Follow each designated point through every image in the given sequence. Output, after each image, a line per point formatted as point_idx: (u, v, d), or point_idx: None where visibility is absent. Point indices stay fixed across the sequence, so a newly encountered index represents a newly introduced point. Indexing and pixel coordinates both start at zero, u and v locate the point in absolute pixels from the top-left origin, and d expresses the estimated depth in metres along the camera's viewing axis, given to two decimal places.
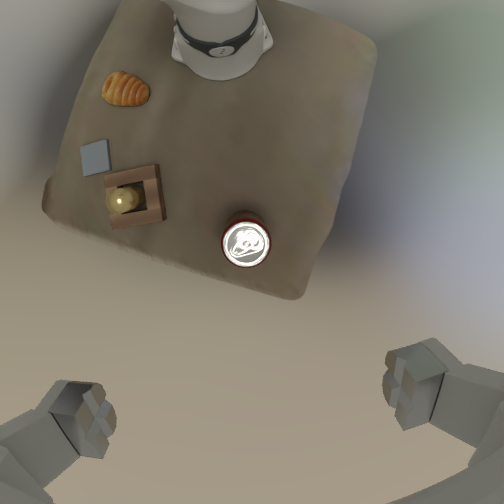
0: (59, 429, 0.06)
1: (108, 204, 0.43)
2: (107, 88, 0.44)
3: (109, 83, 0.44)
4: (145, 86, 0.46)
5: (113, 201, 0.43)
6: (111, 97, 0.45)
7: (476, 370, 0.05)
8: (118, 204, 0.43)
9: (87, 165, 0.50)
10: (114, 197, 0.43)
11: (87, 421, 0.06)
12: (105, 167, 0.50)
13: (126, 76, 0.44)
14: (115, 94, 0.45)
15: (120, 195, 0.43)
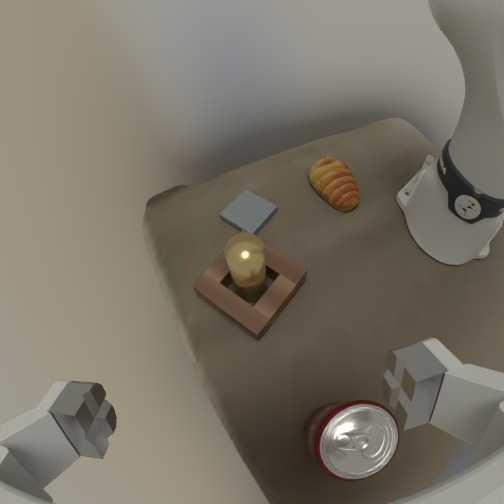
0: (59, 429, 0.06)
1: (231, 243, 0.31)
2: (322, 164, 0.45)
3: (328, 163, 0.45)
4: (358, 196, 0.43)
5: (239, 246, 0.31)
6: (319, 175, 0.44)
7: (476, 370, 0.05)
8: (242, 254, 0.30)
9: (234, 209, 0.44)
10: (246, 243, 0.31)
11: (87, 421, 0.06)
12: (250, 228, 0.42)
13: (348, 171, 0.44)
14: (326, 175, 0.44)
15: (255, 248, 0.30)
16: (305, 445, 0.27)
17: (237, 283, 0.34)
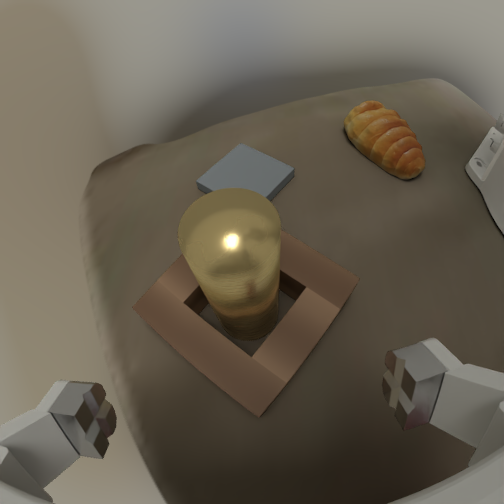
0: (59, 429, 0.06)
1: (197, 211, 0.12)
2: (366, 109, 0.26)
3: (374, 108, 0.26)
4: (423, 156, 0.25)
5: (216, 218, 0.12)
6: (364, 123, 0.26)
7: (476, 370, 0.05)
8: (224, 238, 0.11)
9: (221, 173, 0.25)
10: (234, 211, 0.12)
11: (87, 421, 0.06)
12: None
13: (404, 120, 0.26)
14: (375, 123, 0.25)
15: (258, 225, 0.12)
16: None
17: (216, 308, 0.15)
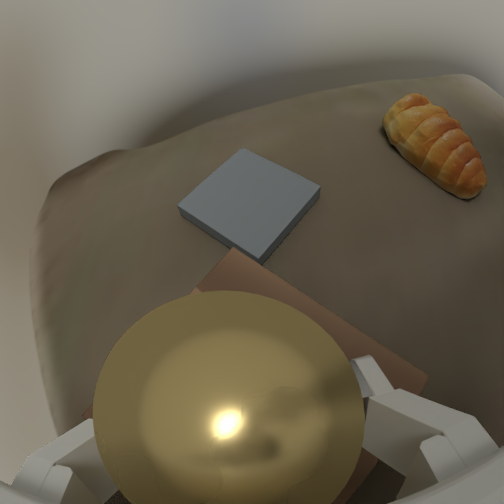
0: None
1: (134, 364, 0.04)
2: (412, 105, 0.18)
3: (421, 103, 0.19)
4: None
5: (186, 392, 0.04)
6: (413, 122, 0.18)
7: (407, 398, 0.05)
8: (209, 459, 0.03)
9: (214, 192, 0.17)
10: (235, 375, 0.04)
11: None
12: (254, 242, 0.16)
13: (457, 121, 0.18)
14: (427, 123, 0.17)
15: (304, 421, 0.04)
16: None
17: None
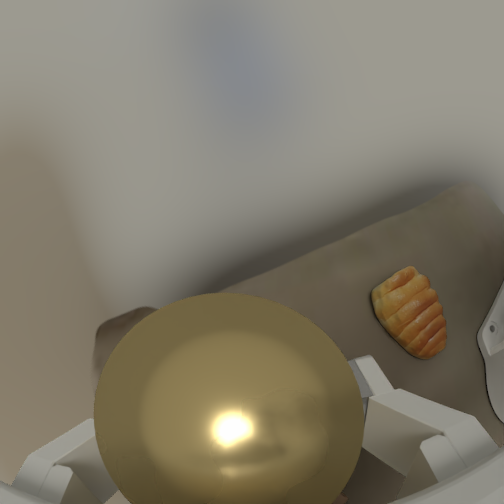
0: None
1: (135, 366, 0.04)
2: (398, 285, 0.26)
3: (406, 281, 0.26)
4: None
5: (187, 394, 0.04)
6: (394, 307, 0.25)
7: (407, 398, 0.05)
8: (209, 460, 0.03)
9: None
10: (235, 377, 0.04)
11: None
12: None
13: (434, 292, 0.25)
14: (406, 308, 0.24)
15: (304, 423, 0.04)
16: None
17: None
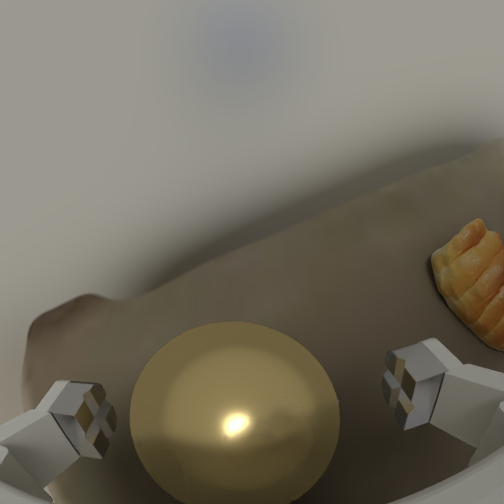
0: (59, 429, 0.06)
1: (163, 378, 0.05)
2: (471, 244, 0.15)
3: (479, 238, 0.15)
4: None
5: (205, 399, 0.05)
6: (471, 277, 0.14)
7: (476, 370, 0.05)
8: (223, 450, 0.05)
9: None
10: (242, 387, 0.05)
11: (87, 421, 0.06)
12: None
13: None
14: (486, 277, 0.14)
15: (294, 421, 0.05)
16: None
17: None
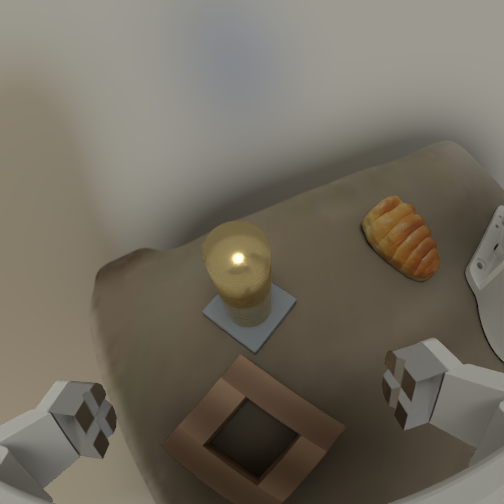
0: (59, 429, 0.06)
1: (214, 237, 0.18)
2: (385, 211, 0.28)
3: (392, 207, 0.28)
4: (437, 255, 0.27)
5: (227, 242, 0.18)
6: (385, 230, 0.28)
7: (476, 370, 0.05)
8: (233, 257, 0.17)
9: None
10: (239, 238, 0.18)
11: (87, 421, 0.06)
12: (252, 342, 0.25)
13: (420, 217, 0.28)
14: (395, 229, 0.27)
15: (255, 247, 0.18)
16: None
17: (226, 302, 0.21)
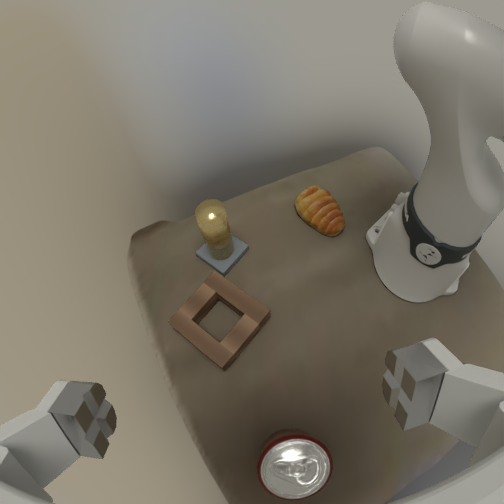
0: (59, 429, 0.06)
1: (201, 206, 0.39)
2: (307, 194, 0.50)
3: (312, 192, 0.50)
4: (343, 220, 0.48)
5: (206, 208, 0.39)
6: (306, 205, 0.49)
7: (476, 370, 0.05)
8: (208, 214, 0.39)
9: None
10: (212, 206, 0.39)
11: (87, 421, 0.06)
12: (222, 267, 0.46)
13: (331, 197, 0.49)
14: (312, 205, 0.48)
15: (218, 210, 0.39)
16: None
17: (206, 240, 0.42)
